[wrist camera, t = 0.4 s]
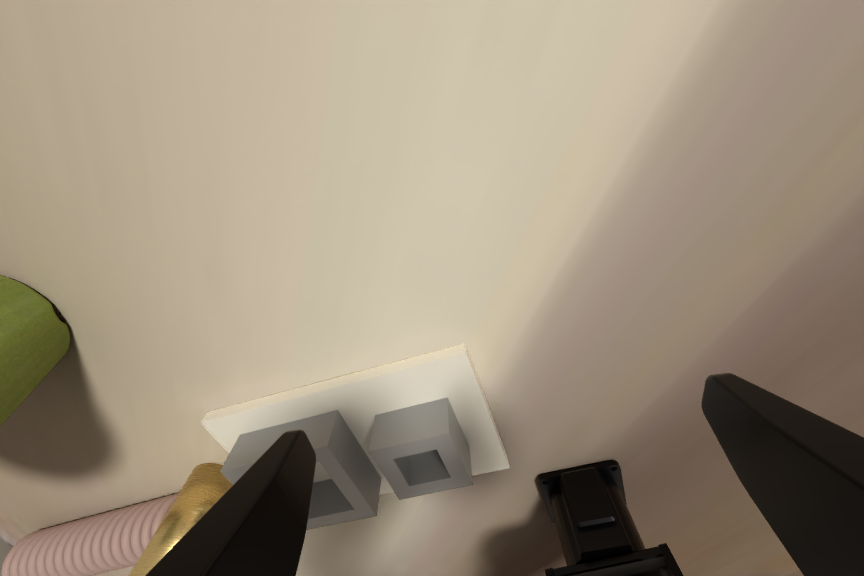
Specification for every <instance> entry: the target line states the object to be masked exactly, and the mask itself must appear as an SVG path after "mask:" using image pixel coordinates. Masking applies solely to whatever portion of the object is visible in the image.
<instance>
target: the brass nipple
mask: <svg viewBox="0 0 864 576" xmlns="http://www.w3.org/2000/svg"><path fill="white" fill-rule="evenodd" d="M222 466H223V465H220V464H214V463H205V464H201V465H198V466H197V467H195V468H194V469H193V471H192V473H191V474H190V476H189V478H188V479H187V481H186V483H185V484H184V486H183V487H182V489H181V491H180V492H179V494H178V496H177V497H176V499H175V501H174V502H173V504H172V505H171V507H170V509H169V510H168V512H167V514H166V515H165V517H164V519H163V520H162V522H161V523H160V525H159V527H158V528H157V530H156V532H155V533H154V535H153V537H152V538H151V540H150V541H149V543H148V545H147V546H146V548H145V550H144V551H143V553H142V555H141V556H140V558H139V560H138V561H137V563H136V564H135V566H134V568H133V569H132V571H131V573H130V574H129V576H145V575H146V574H147V573H148V572H149V571H150V570H151V569H152V568H153V567H154V566H155V565H156V564H157V563H158V562H159V561H160V560H161V559H162V558H163V557H164V556H165V555H166V554H167V553H168V552H169V551H170V550H171V548H172V547H173V546H174V545H175V544H176V543H177V542H178V541H179V540H180V539H181V538H182V537H183V536H184V535H185V534H186V533H187V532H188V531H189V530H190V529H191V528H192V527H193V526H194V525H195V524H196V523H197V522H198V521H199V520H200V519H201V518H202V517H203V515H204V514H205V513H206V512H207V511H208V510H209V509H210V508H211V507H212V506H213V505H214V504H215V503H216V502H217V501H218V500H219V499H220V498H221V497H222V496H223V495H224V494H225V493H226V492H227V491H228V490H229V489H230V488H231V487H232V486H233V485H232V484H231V483H230V482H229V480H228V479H227V478H226V477H225V476H224V475H223V474H222V473H221V472H220V470H221V468H222Z"/></svg>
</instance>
